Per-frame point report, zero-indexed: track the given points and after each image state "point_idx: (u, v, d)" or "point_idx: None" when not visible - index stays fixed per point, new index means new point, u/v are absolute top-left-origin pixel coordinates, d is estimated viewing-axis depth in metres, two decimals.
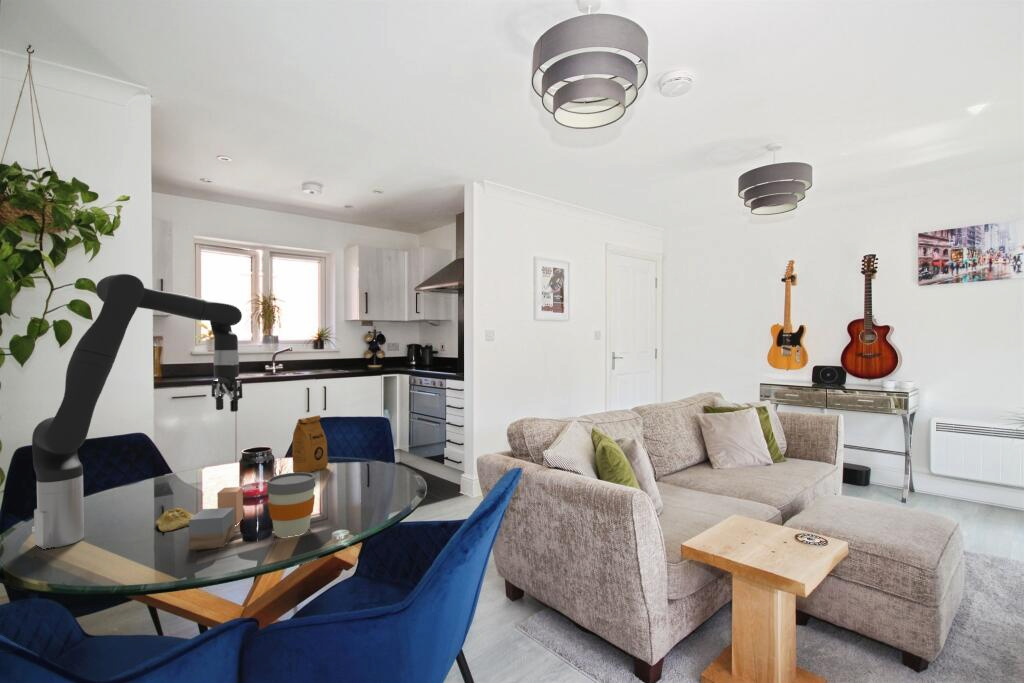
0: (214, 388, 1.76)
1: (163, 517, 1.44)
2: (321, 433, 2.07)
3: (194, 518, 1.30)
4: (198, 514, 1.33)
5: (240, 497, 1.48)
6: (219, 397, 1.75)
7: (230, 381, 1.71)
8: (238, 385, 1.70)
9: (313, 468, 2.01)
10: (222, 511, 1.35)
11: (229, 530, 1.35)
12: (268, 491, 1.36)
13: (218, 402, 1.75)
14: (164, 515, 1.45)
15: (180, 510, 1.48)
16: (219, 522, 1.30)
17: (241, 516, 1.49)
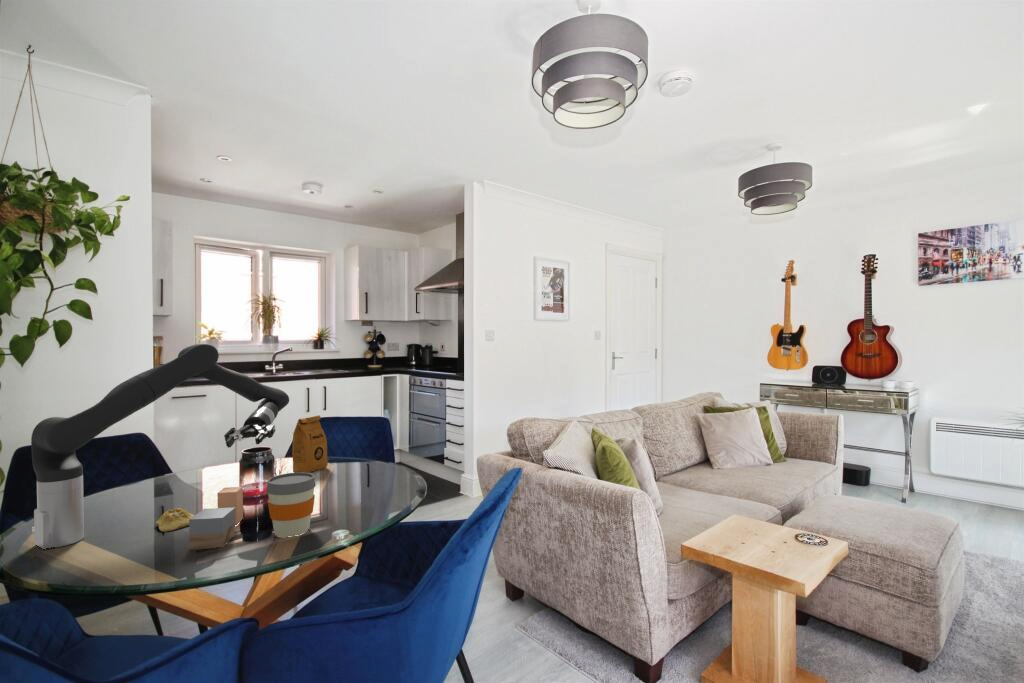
0: (231, 432, 1.64)
1: (163, 518, 1.44)
2: (321, 433, 2.07)
3: (194, 518, 1.30)
4: (199, 514, 1.33)
5: (240, 497, 1.48)
6: (233, 438, 1.62)
7: (265, 425, 1.68)
8: (274, 428, 1.67)
9: (313, 468, 2.01)
10: (223, 511, 1.35)
11: (230, 530, 1.35)
12: (268, 491, 1.36)
13: (231, 439, 1.60)
14: (164, 515, 1.45)
15: (180, 510, 1.48)
16: (219, 522, 1.30)
17: (241, 516, 1.49)
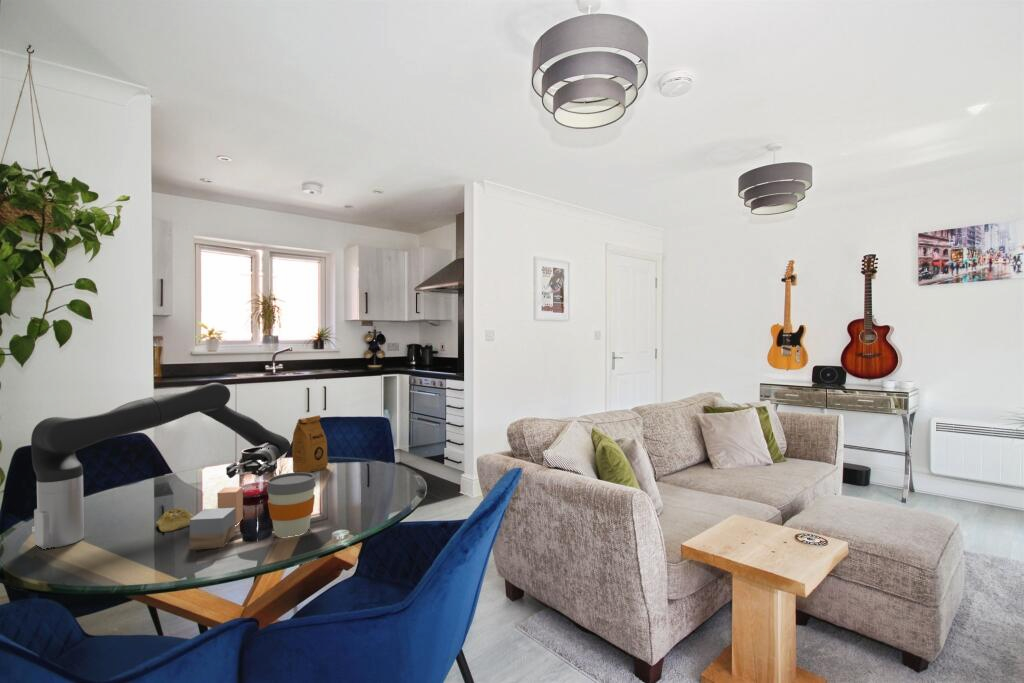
0: (233, 466, 1.65)
1: (163, 518, 1.44)
2: (321, 433, 2.07)
3: (195, 518, 1.30)
4: (199, 514, 1.33)
5: (240, 497, 1.48)
6: (235, 470, 1.62)
7: (267, 461, 1.69)
8: (276, 464, 1.68)
9: (313, 468, 2.01)
10: (223, 511, 1.35)
11: (230, 530, 1.35)
12: (268, 491, 1.36)
13: (233, 470, 1.60)
14: (164, 515, 1.45)
15: (180, 510, 1.48)
16: (219, 523, 1.30)
17: (241, 516, 1.49)
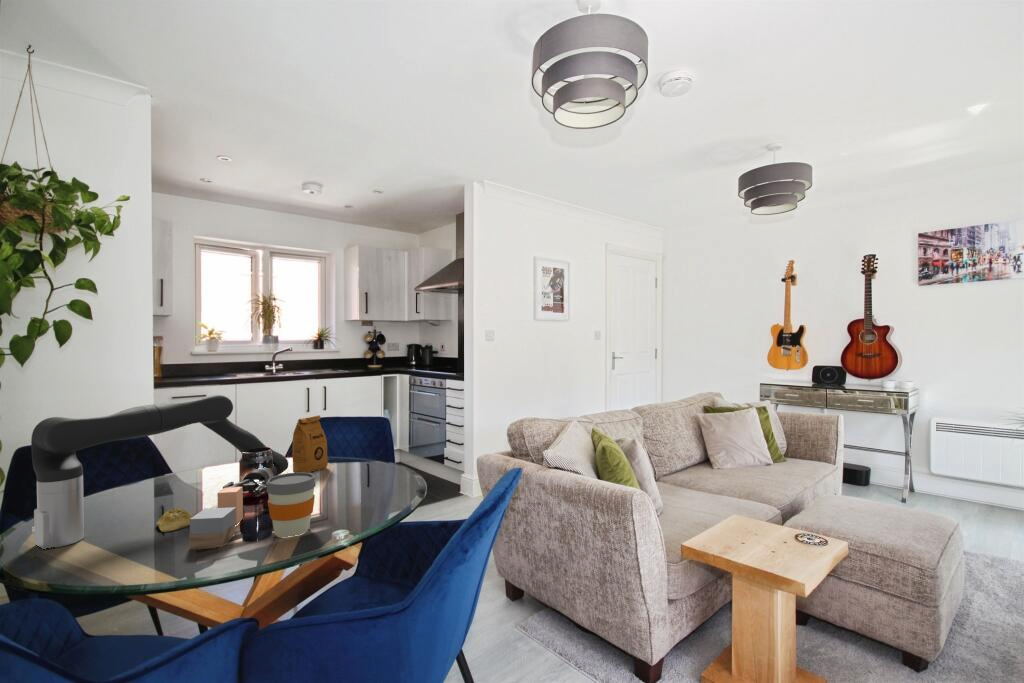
0: (230, 485, 1.62)
1: (163, 518, 1.44)
2: (321, 433, 2.07)
3: (195, 518, 1.30)
4: (200, 514, 1.33)
5: (240, 497, 1.48)
6: None
7: (264, 481, 1.67)
8: None
9: (313, 468, 2.01)
10: (223, 511, 1.35)
11: (229, 530, 1.35)
12: (268, 491, 1.36)
13: None
14: (165, 516, 1.45)
15: (181, 510, 1.47)
16: (219, 522, 1.30)
17: (241, 516, 1.49)
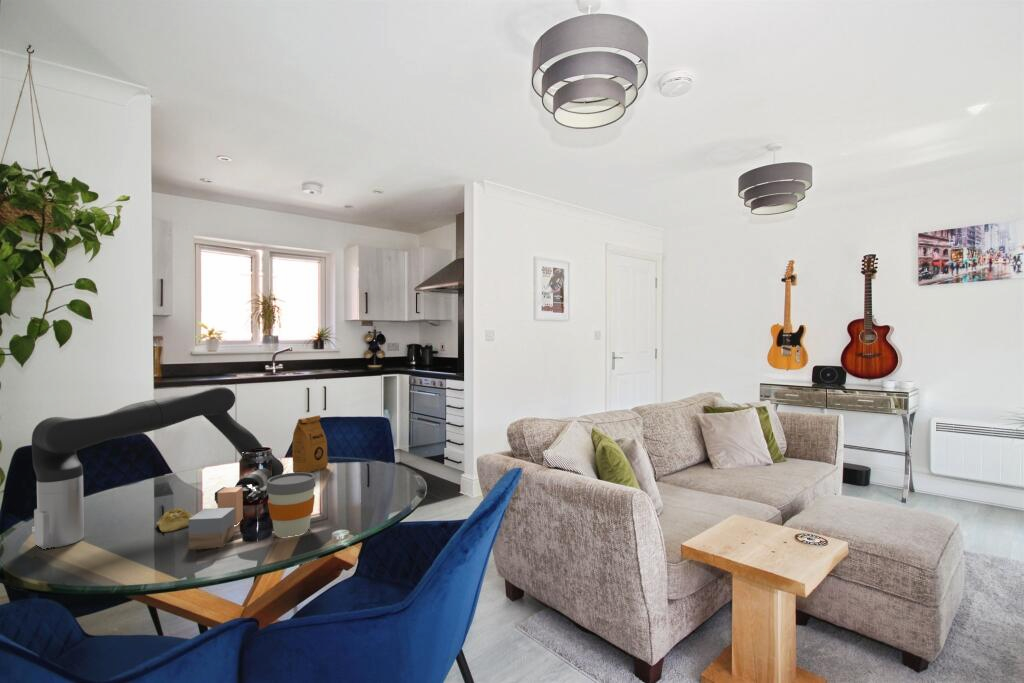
0: None
1: (163, 518, 1.44)
2: (321, 433, 2.07)
3: (194, 518, 1.30)
4: (199, 514, 1.33)
5: (240, 497, 1.48)
6: None
7: (258, 486, 1.61)
8: None
9: (313, 468, 2.01)
10: (222, 511, 1.35)
11: (229, 530, 1.35)
12: (268, 491, 1.36)
13: None
14: (165, 516, 1.44)
15: (181, 511, 1.47)
16: (218, 523, 1.30)
17: (241, 516, 1.49)
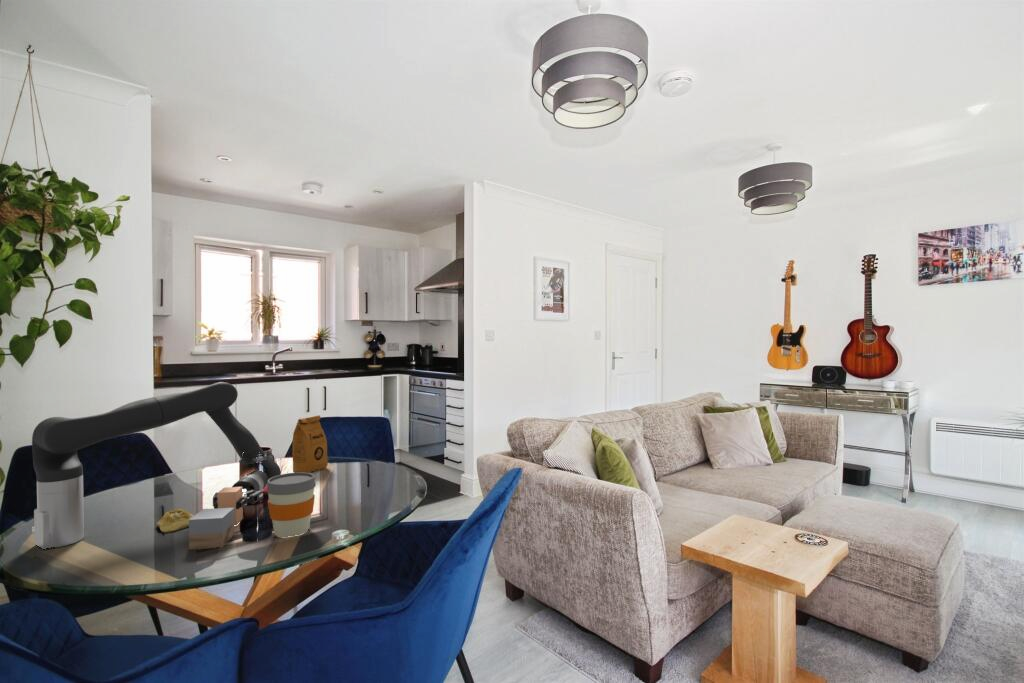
0: None
1: (164, 518, 1.44)
2: (321, 433, 2.07)
3: (194, 518, 1.30)
4: (198, 514, 1.33)
5: (240, 497, 1.48)
6: None
7: (254, 490, 1.56)
8: (260, 495, 1.54)
9: (313, 468, 2.01)
10: (222, 511, 1.35)
11: (229, 530, 1.35)
12: (268, 491, 1.36)
13: None
14: (165, 516, 1.44)
15: (181, 511, 1.47)
16: (219, 522, 1.31)
17: (241, 516, 1.49)
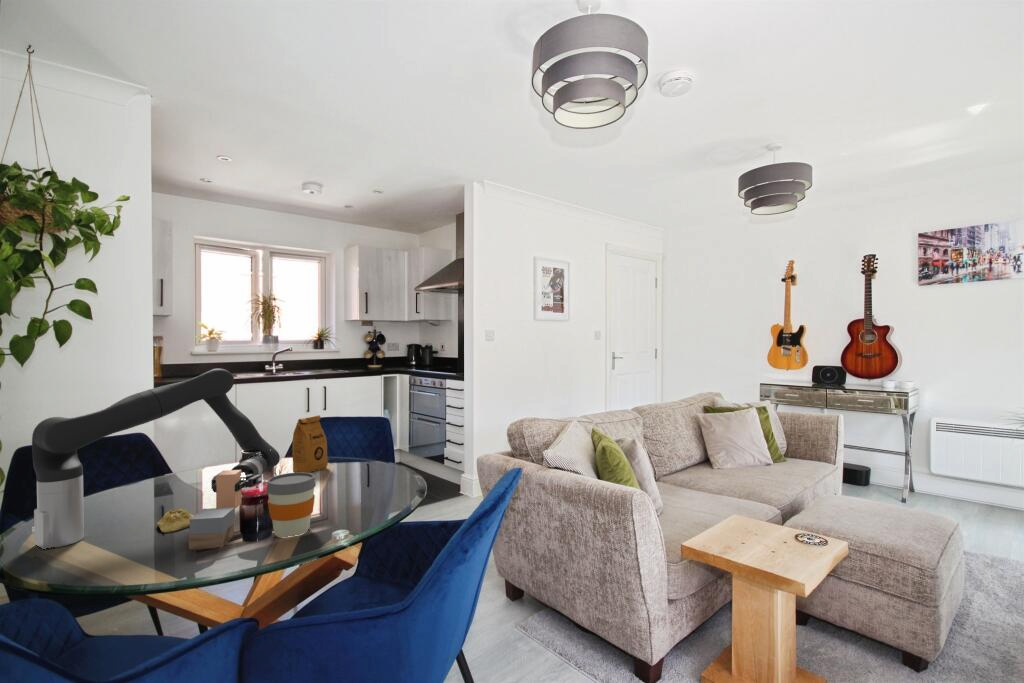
0: None
1: (164, 519, 1.44)
2: (321, 433, 2.07)
3: (195, 518, 1.30)
4: (199, 514, 1.33)
5: (239, 480, 1.48)
6: None
7: (253, 474, 1.55)
8: (259, 479, 1.54)
9: (313, 468, 2.01)
10: (223, 511, 1.36)
11: (229, 530, 1.35)
12: (268, 491, 1.36)
13: None
14: (165, 516, 1.44)
15: (181, 511, 1.47)
16: (219, 522, 1.31)
17: (239, 499, 1.49)
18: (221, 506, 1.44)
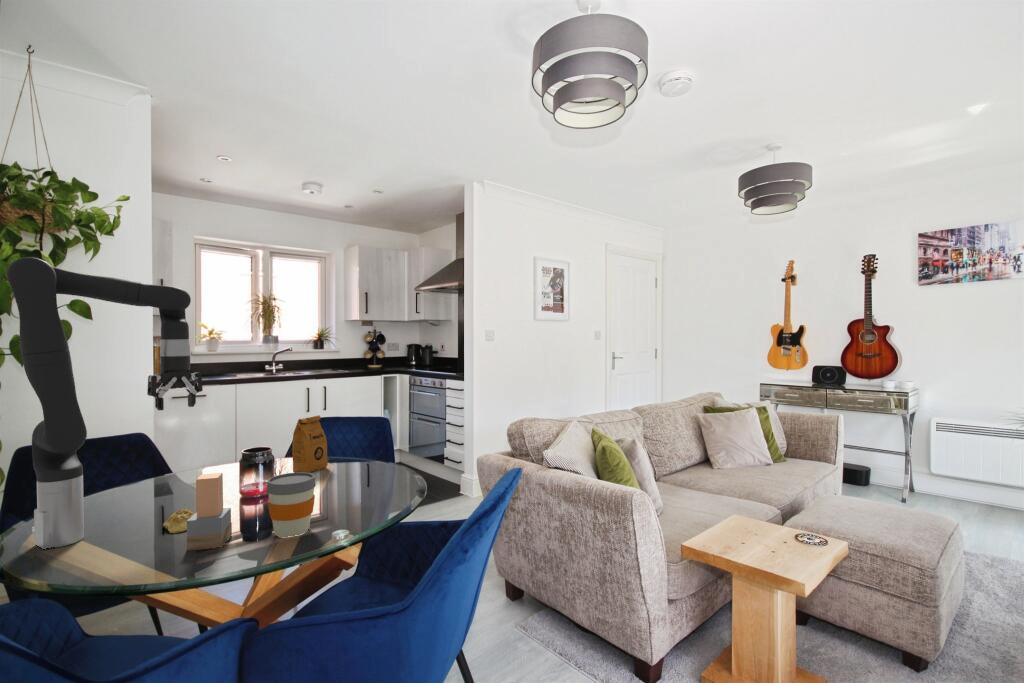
0: None
1: (171, 519, 1.43)
2: (321, 433, 2.07)
3: (192, 519, 1.30)
4: (195, 515, 1.32)
5: (221, 484, 1.35)
6: None
7: (190, 373, 1.55)
8: None
9: (313, 468, 2.01)
10: None
11: (227, 530, 1.35)
12: (268, 491, 1.36)
13: None
14: (172, 517, 1.43)
15: (188, 511, 1.46)
16: (218, 523, 1.30)
17: (222, 505, 1.36)
18: (202, 513, 1.31)
